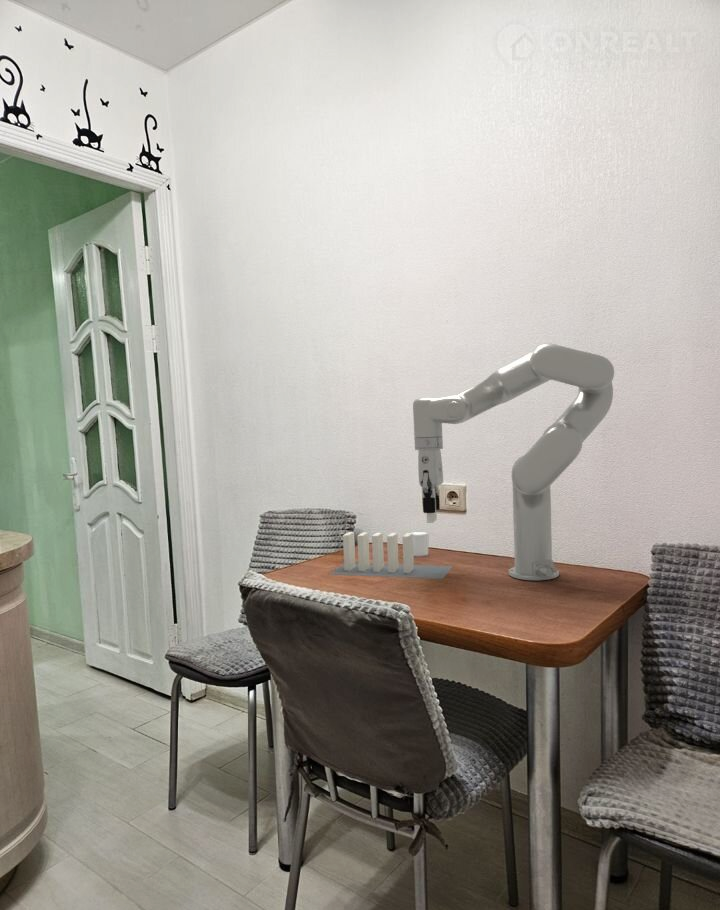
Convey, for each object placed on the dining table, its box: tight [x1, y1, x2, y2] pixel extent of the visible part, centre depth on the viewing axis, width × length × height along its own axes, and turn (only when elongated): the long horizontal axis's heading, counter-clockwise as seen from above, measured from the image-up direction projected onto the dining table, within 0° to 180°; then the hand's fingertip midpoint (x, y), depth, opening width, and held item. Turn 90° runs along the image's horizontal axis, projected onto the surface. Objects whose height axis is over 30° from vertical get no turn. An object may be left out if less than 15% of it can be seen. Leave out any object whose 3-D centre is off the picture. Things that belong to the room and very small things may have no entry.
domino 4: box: [386, 532, 400, 572], centre depth 180 cm, size 2×5×10 cm, turn 161°
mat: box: [328, 562, 454, 580], centre depth 180 cm, size 32×14×1 cm, turn 71°
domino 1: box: [342, 531, 357, 571], centre depth 184 cm, size 2×5×10 cm, turn 161°
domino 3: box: [371, 532, 385, 572], centre depth 181 cm, size 2×5×10 cm, turn 161°
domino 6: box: [426, 485, 438, 524], centre depth 175 cm, size 2×5×10 cm, turn 162°
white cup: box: [408, 530, 430, 557], centre depth 199 cm, size 7×7×7 cm
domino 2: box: [356, 531, 371, 571], centre depth 182 cm, size 2×5×10 cm, turn 162°
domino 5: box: [402, 532, 415, 573], centre depth 178 cm, size 2×5×10 cm, turn 162°
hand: (431, 510), depth 175 cm, fingers closed on domino 6, 4 cm apart
